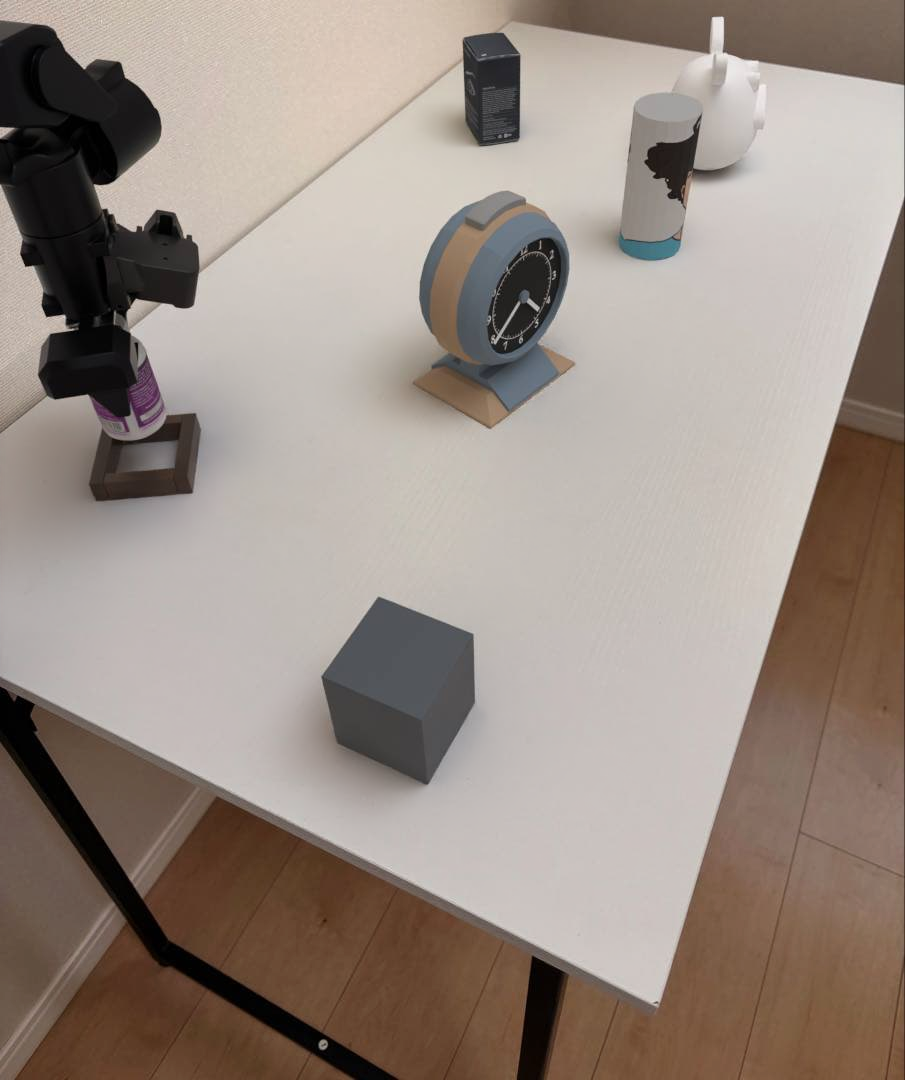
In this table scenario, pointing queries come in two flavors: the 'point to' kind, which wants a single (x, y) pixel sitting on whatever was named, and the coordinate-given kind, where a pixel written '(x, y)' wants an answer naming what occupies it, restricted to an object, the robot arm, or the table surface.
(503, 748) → the table surface
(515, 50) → the box
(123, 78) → the robot arm
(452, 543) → the table surface
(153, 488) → the holder
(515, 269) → the alarm clock
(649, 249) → the white cylinder
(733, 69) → the piggy bank
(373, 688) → the block
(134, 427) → the pill bottle
